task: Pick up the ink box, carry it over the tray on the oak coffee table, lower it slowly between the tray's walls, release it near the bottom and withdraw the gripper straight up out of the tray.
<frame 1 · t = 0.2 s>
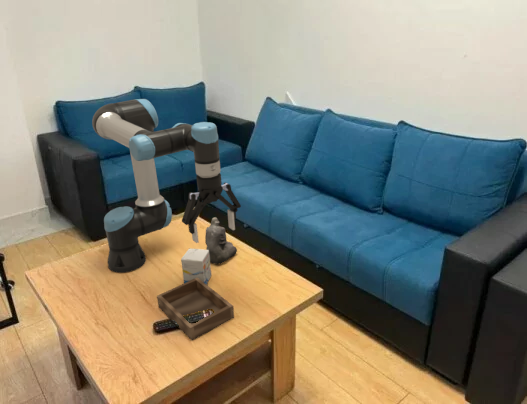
hand: (214, 234, 141), 27 cm above the table, fingers open, 13 cm apart
figurine: (220, 257, 181), on the table
tray: (195, 312, 148), on the table
ink box: (198, 280, 166), on the table
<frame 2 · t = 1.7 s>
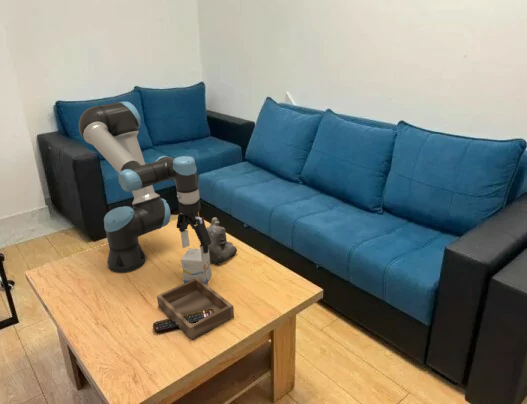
hand: (195, 253, 160), 12 cm above the table, fingers open, 13 cm apart
nothing on the table moved.
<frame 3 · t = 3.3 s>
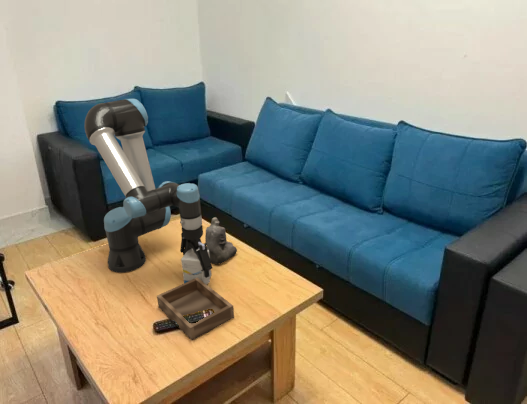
hand: (197, 276, 165), 2 cm above the table, fingers closed on ink box, 11 cm apart
ink box: (198, 280, 166), on the table, touching gripper
everything else where it was.
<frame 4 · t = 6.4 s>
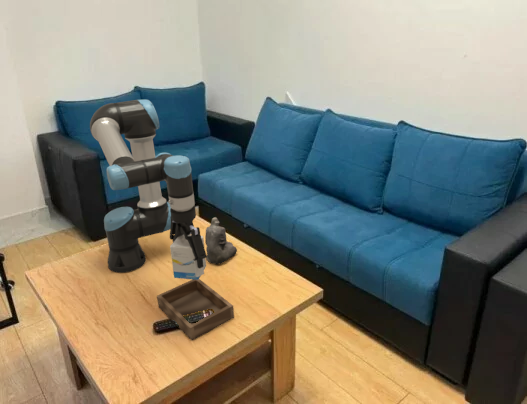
hand: (190, 267, 141), 18 cm above the table, fingers closed on ink box, 11 cm apart
ink box: (190, 272, 141), point 16 cm above the table, touching gripper
everything else where it was.
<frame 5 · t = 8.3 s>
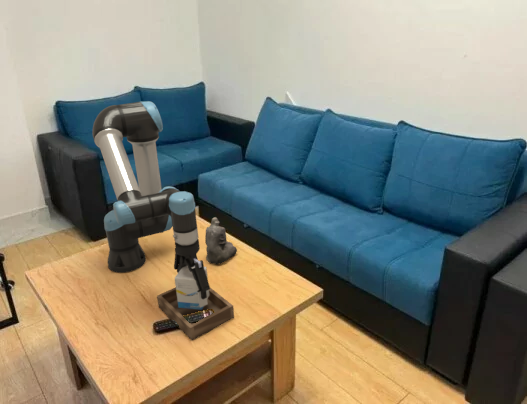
hand: (193, 297, 145), 7 cm above the table, fingers closed on ink box, 11 cm apart
ink box: (194, 301, 146), point 5 cm above the table, touching gripper
everything else where it was.
when the fingers open (4 cm above the table, at t = 9.8 s): ink box drops 1 cm, resting on tray.
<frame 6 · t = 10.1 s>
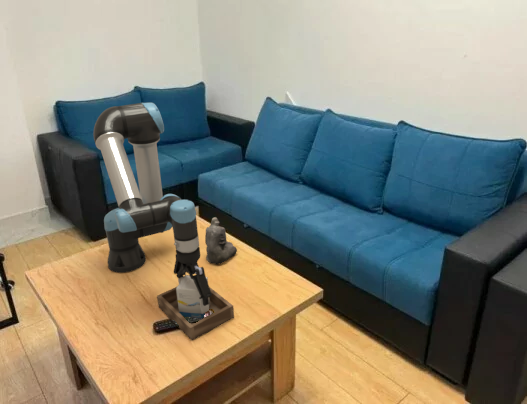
hand: (194, 302, 146), 4 cm above the table, fingers open, 13 cm apart
ink box: (195, 311, 148), resting on tray
everything else where it was.
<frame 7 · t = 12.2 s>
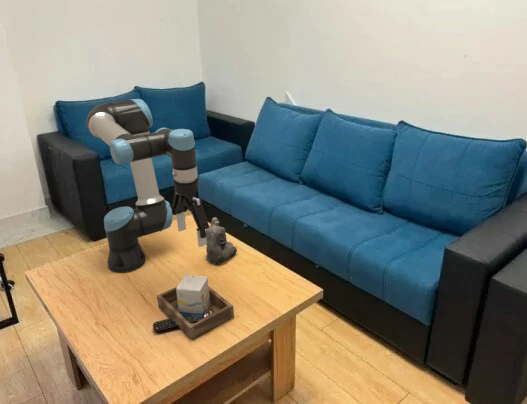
hand: (192, 237, 145), 25 cm above the table, fingers open, 13 cm apart
nothing on the table moved.
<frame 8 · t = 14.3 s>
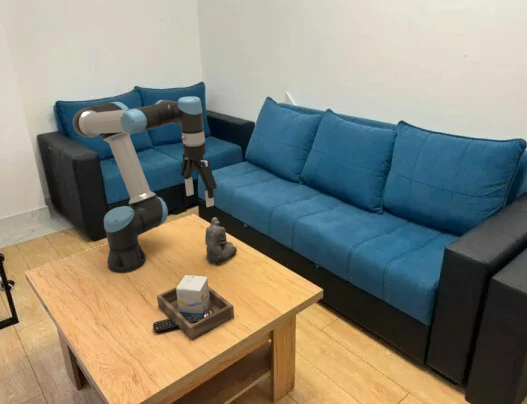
hand: (199, 200, 156), 32 cm above the table, fingers open, 13 cm apart
nothing on the table moved.
at the end: ink box inside the target area on the tray (0.1 cm from its centre), point 0.4 cm above the tray's base; ink box tilted 0°; the gripper is holding nothing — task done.
